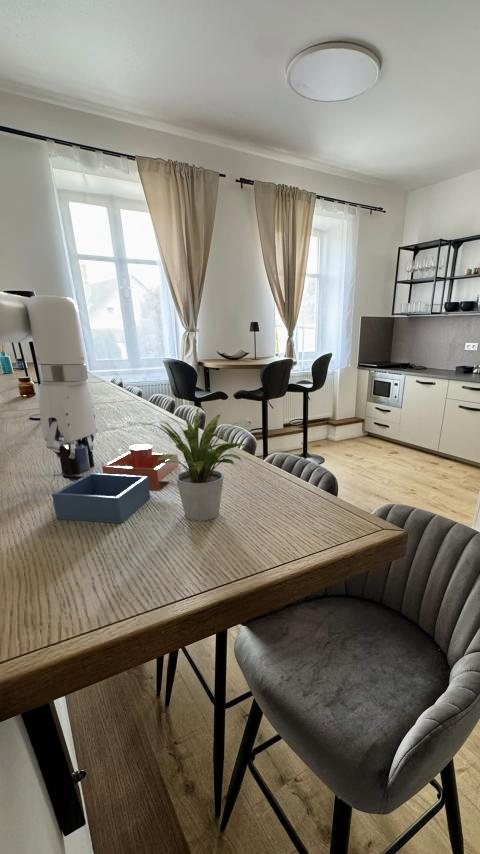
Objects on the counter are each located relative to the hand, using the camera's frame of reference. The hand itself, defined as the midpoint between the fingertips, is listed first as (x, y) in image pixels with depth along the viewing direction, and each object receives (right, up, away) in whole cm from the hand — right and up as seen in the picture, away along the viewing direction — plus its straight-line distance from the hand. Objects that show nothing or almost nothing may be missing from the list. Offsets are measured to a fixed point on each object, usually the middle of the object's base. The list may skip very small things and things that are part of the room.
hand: (79, 473), depth 78 cm
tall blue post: (0, -1, 0) cm, 1 cm away
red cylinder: (+12, -1, 0) cm, 12 cm away
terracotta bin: (+12, -1, 0) cm, 12 cm away
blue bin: (+11, -6, -13) cm, 18 cm away
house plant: (+25, -8, -15) cm, 31 cm away
